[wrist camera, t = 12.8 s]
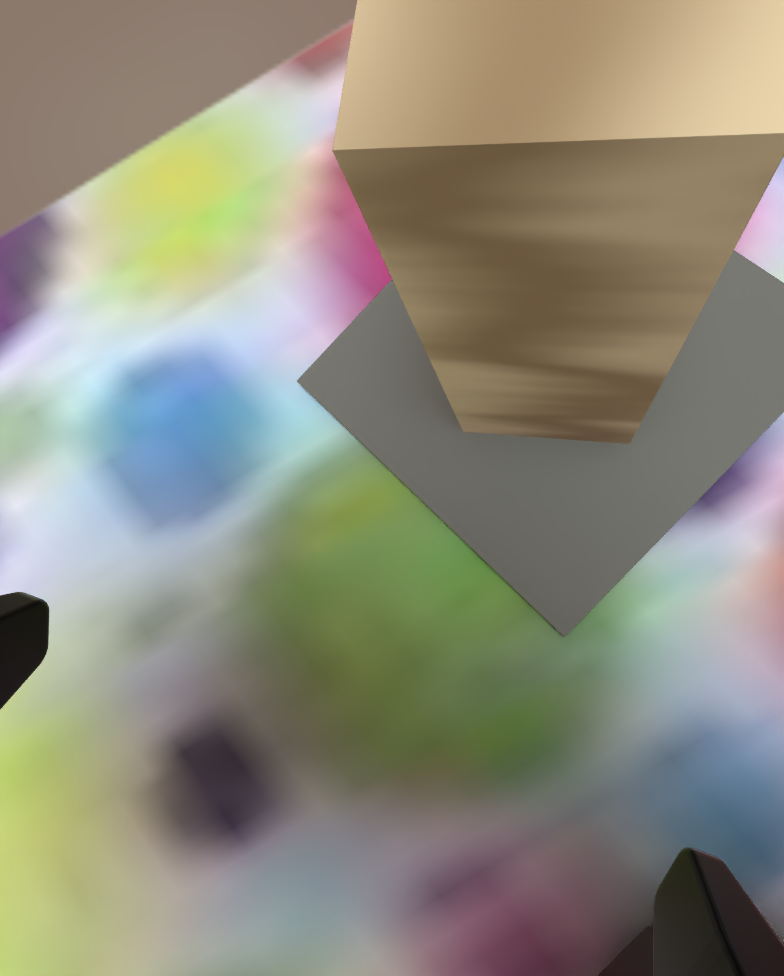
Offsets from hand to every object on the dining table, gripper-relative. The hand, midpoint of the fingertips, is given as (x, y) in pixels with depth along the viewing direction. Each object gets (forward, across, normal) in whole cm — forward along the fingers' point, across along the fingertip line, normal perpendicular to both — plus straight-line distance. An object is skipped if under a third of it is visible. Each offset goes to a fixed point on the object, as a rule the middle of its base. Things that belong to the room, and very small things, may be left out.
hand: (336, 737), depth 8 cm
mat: (+15, -2, -3) cm, 15 cm away
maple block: (+14, -2, -4) cm, 15 cm away
